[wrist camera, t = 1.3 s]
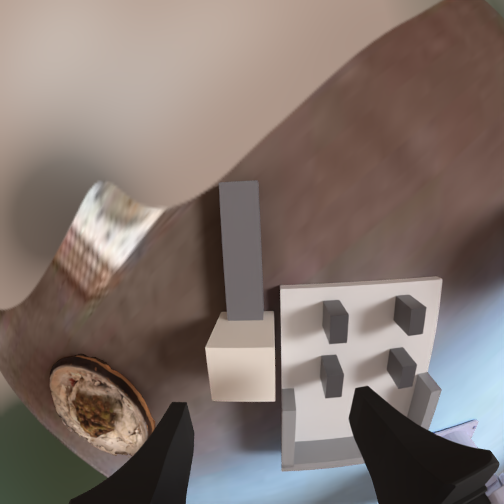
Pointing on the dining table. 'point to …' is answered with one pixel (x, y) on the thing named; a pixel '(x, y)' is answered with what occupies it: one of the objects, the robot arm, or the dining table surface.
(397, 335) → the board
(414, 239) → the dining table surface
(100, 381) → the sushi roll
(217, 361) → the cream block gray bar
